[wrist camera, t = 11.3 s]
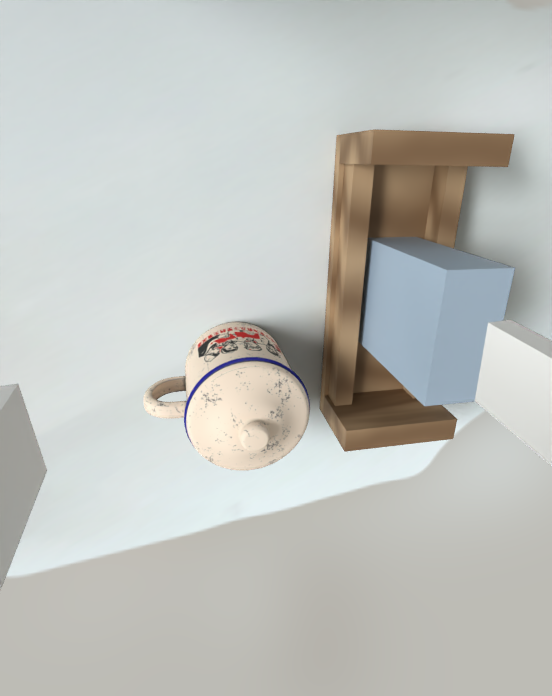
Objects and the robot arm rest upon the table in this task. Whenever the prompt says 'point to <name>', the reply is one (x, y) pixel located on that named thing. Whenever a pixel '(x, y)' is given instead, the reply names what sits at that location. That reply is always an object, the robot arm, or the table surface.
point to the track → (349, 266)
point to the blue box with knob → (430, 314)
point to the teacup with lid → (236, 398)
